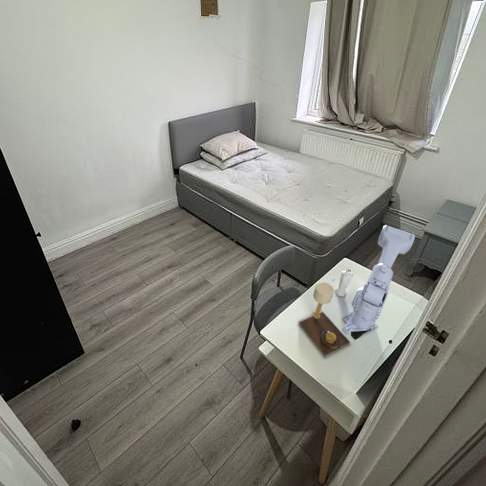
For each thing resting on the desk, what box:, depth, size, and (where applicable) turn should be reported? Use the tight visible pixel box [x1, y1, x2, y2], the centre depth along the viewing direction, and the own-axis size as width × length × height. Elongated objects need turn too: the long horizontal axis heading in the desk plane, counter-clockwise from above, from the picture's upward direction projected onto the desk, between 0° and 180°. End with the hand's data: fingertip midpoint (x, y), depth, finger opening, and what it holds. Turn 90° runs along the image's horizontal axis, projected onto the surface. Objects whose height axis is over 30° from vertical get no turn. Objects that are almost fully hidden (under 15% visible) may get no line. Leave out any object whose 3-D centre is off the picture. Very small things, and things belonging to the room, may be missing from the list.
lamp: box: [312, 281, 335, 319], centre depth 112 cm, size 6×6×17 cm
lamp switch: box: [325, 332, 336, 344], centre depth 108 cm, size 4×4×2 cm
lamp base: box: [298, 311, 351, 358], centre depth 112 cm, size 12×15×4 cm
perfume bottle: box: [335, 267, 354, 298], centre depth 125 cm, size 5×4×15 cm
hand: (354, 336), depth 101 cm, fingers closed
